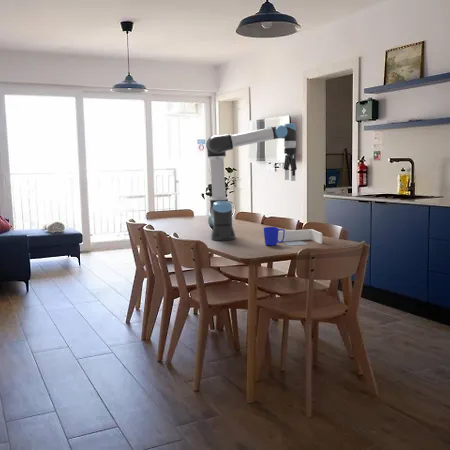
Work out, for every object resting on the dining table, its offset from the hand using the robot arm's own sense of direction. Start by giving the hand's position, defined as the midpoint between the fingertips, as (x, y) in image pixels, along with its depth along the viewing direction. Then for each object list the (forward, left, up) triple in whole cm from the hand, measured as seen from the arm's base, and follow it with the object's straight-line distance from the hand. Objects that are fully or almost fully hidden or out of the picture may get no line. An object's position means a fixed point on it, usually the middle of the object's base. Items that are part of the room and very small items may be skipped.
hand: (289, 180), depth 347 cm
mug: (-24, -45, -34) cm, 61 cm away
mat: (-11, -43, -34) cm, 56 cm away
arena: (-10, -41, -34) cm, 54 cm away
